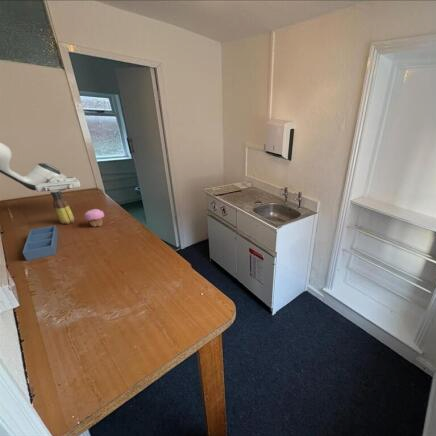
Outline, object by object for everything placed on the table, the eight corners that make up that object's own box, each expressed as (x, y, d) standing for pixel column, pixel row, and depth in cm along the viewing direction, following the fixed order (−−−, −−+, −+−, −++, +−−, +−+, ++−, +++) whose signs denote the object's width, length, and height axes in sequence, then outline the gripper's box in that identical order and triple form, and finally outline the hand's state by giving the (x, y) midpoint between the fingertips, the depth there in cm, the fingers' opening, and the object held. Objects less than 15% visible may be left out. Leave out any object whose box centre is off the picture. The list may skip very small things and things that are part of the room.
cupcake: (107, 221, 142) (102, 206, 138) (106, 226, 135) (101, 211, 131) (88, 224, 137) (83, 208, 133) (86, 230, 130) (81, 213, 126)
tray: (26, 260, 102) (22, 252, 100) (33, 237, 120) (30, 229, 118) (56, 254, 107) (52, 245, 106) (58, 232, 126) (55, 225, 124)
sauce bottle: (72, 219, 142) (60, 188, 134) (77, 222, 139) (66, 190, 131) (58, 223, 136) (45, 191, 128) (63, 226, 134) (51, 193, 126)
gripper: (34, 180, 142) (31, 186, 132) (78, 176, 154) (78, 181, 145) (38, 190, 144) (36, 196, 135) (81, 186, 157) (82, 191, 147)
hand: (58, 188), depth 140 cm, fingers open, 8 cm apart
